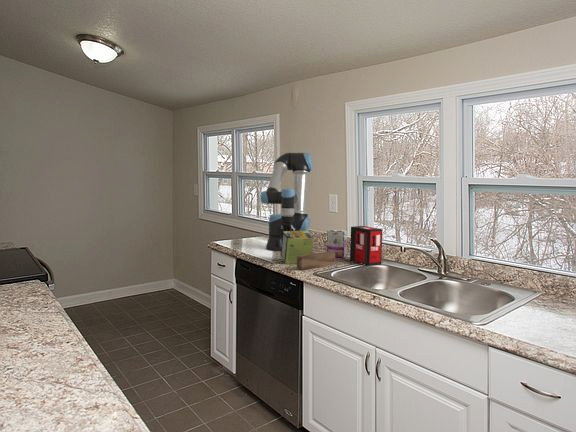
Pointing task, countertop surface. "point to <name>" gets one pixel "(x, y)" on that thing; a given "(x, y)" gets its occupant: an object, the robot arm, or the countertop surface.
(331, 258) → the walnut block
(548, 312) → the countertop surface
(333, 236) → the candy bar box
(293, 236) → the protein box
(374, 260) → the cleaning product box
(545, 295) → the countertop surface
